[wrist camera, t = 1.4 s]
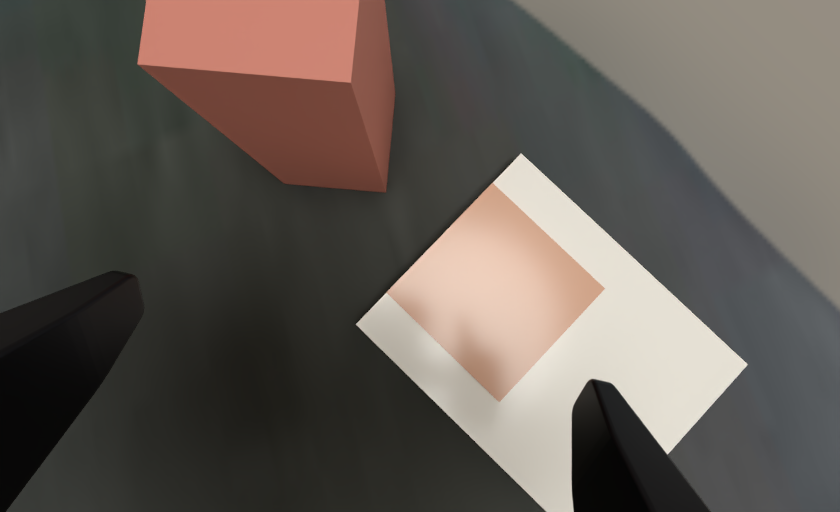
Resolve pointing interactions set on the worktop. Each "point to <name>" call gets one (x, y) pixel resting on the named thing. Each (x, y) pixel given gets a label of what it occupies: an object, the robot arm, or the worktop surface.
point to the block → (284, 81)
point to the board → (544, 332)
